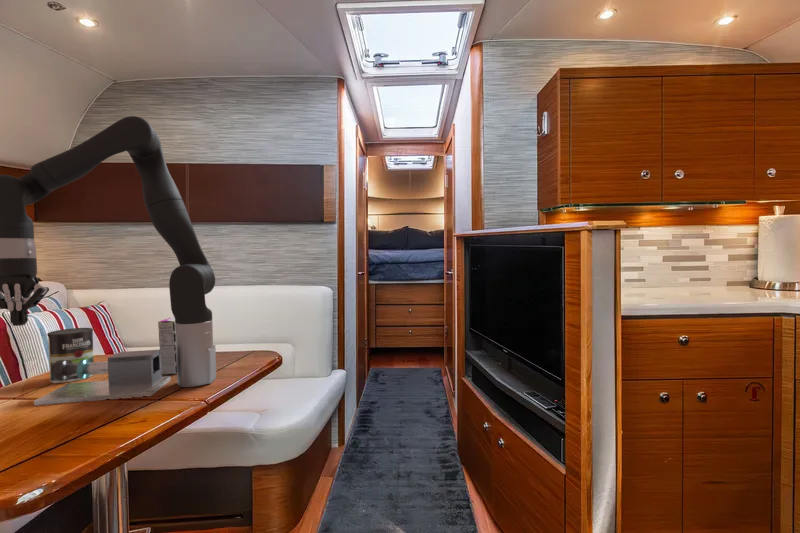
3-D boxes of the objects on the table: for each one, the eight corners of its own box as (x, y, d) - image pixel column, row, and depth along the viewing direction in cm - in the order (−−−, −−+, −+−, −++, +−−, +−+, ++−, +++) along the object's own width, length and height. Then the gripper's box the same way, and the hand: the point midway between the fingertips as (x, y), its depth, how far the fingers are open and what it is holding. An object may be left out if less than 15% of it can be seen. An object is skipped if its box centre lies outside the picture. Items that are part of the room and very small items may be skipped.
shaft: (142, 372, 106) (141, 353, 106) (133, 378, 101) (132, 358, 101) (65, 377, 102) (64, 358, 102) (51, 383, 97) (50, 363, 97)
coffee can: (101, 375, 117) (98, 329, 116) (57, 385, 108) (54, 335, 107) (86, 370, 122) (84, 326, 122) (44, 379, 113) (41, 332, 113)
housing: (170, 379, 111) (169, 346, 111) (150, 396, 98) (149, 358, 98) (68, 387, 106) (67, 352, 106) (34, 405, 93) (32, 365, 93)
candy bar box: (177, 364, 127) (175, 315, 126) (193, 364, 127) (191, 314, 127) (159, 375, 116) (157, 321, 115) (176, 374, 116) (174, 320, 116)
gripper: (56, 256, 102) (59, 321, 103) (-3, 257, 100) (0, 324, 100) (35, 256, 95) (39, 326, 95) (-29, 257, 92) (-25, 329, 93)
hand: (19, 325), depth 98 cm, fingers closed
